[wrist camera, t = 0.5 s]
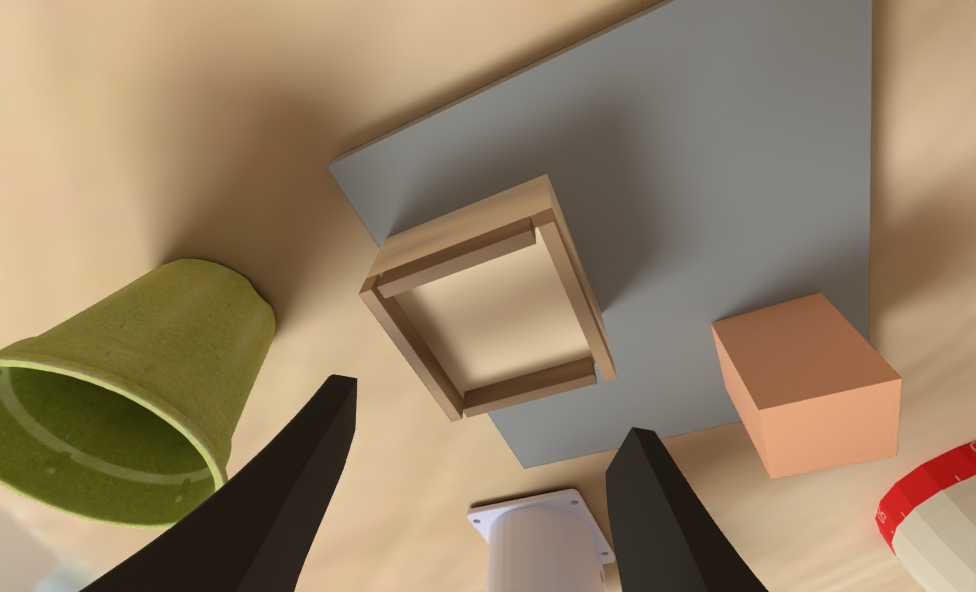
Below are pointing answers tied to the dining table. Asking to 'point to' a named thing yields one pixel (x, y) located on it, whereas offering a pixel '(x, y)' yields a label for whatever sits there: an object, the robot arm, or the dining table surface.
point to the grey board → (662, 192)
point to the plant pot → (134, 397)
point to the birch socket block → (491, 303)
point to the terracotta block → (808, 387)
